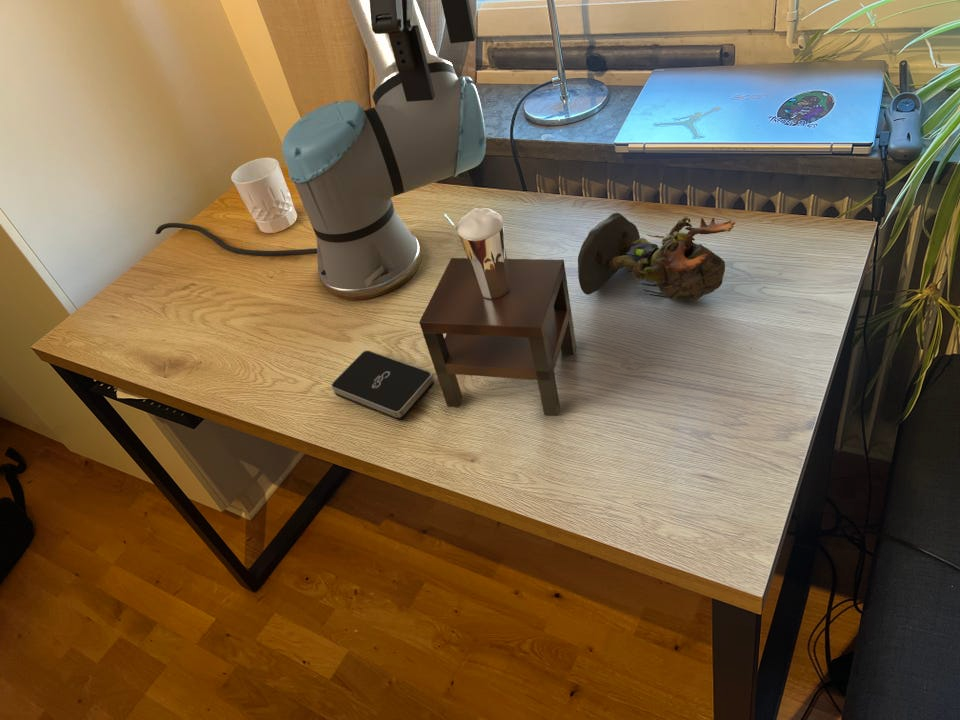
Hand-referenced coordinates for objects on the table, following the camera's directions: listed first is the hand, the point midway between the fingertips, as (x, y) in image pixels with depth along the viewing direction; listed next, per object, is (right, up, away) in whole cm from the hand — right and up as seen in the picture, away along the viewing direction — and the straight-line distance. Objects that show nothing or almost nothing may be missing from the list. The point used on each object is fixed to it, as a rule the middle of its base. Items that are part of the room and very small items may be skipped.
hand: (443, 68), depth 72 cm
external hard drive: (-8, -33, +14) cm, 37 cm away
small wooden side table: (+8, -31, +12) cm, 34 cm away
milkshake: (+5, -22, +3) cm, 23 cm away
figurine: (+25, -20, +18) cm, 37 cm away
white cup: (-31, -6, +50) cm, 59 cm away
